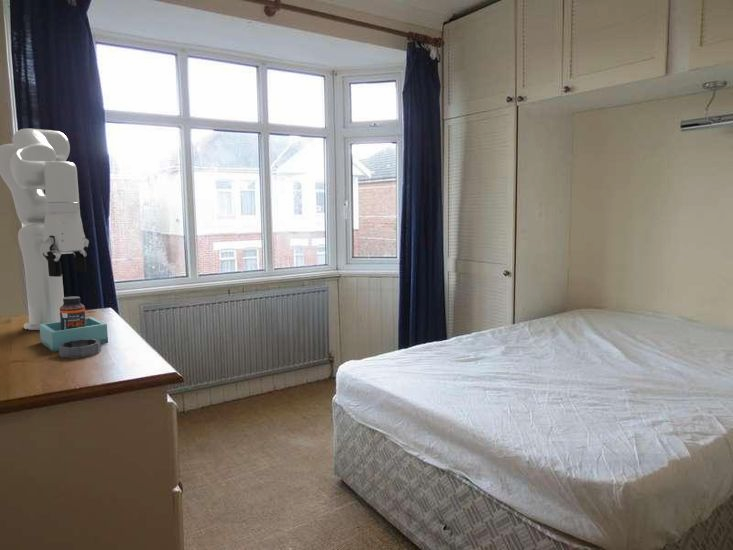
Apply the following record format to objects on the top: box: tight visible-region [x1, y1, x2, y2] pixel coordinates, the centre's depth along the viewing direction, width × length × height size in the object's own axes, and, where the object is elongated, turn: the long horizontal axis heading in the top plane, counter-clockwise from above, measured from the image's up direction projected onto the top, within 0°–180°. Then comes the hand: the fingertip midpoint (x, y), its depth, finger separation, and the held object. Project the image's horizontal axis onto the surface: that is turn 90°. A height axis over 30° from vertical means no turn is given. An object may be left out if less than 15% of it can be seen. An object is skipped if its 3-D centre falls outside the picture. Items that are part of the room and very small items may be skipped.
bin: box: [39, 316, 109, 352], centre depth 137 cm, size 13×13×5 cm
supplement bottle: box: [60, 295, 87, 330], centre depth 137 cm, size 6×6×11 cm
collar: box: [58, 339, 102, 359], centre depth 127 cm, size 9×9×2 cm
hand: (68, 273), depth 135 cm, fingers open, 9 cm apart
